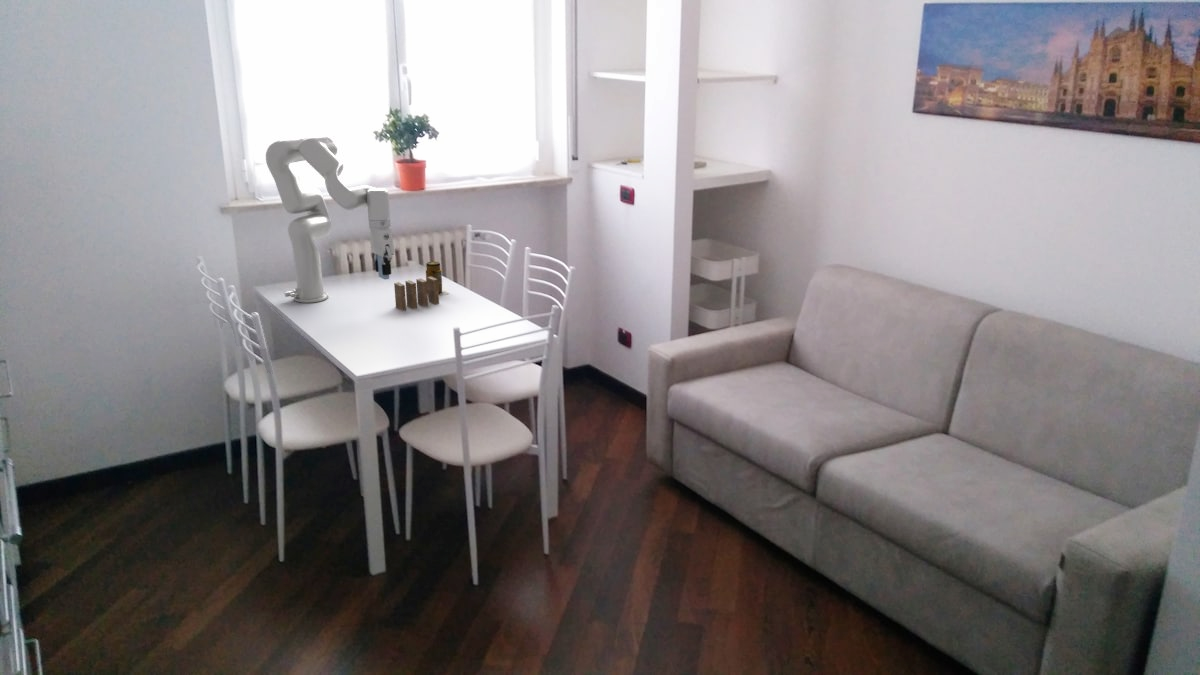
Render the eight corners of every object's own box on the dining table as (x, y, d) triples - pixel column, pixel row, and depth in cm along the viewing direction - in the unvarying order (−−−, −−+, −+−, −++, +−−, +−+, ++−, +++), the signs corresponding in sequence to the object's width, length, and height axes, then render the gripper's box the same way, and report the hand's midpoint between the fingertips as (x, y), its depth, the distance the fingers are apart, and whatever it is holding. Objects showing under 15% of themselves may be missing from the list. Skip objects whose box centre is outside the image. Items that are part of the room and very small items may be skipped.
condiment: (438, 289, 365) (436, 259, 361) (449, 293, 359) (447, 264, 355) (421, 292, 361) (420, 262, 357) (432, 297, 355) (430, 267, 351)
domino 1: (384, 279, 330) (382, 253, 327) (378, 276, 334) (376, 251, 331) (389, 278, 331) (387, 253, 328) (383, 275, 335) (381, 250, 332)
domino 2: (401, 310, 338) (400, 286, 335) (395, 307, 342) (394, 282, 339) (406, 309, 339) (404, 285, 336) (400, 306, 343) (398, 282, 340)
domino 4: (423, 306, 343) (422, 282, 340) (417, 303, 347) (416, 279, 344) (428, 305, 344) (426, 281, 341) (422, 302, 348) (420, 278, 345)
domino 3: (413, 308, 341) (411, 284, 337) (406, 305, 344) (405, 281, 341) (417, 307, 342) (415, 283, 338) (411, 304, 345) (409, 280, 342)
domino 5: (434, 304, 346) (433, 280, 343) (428, 301, 349) (427, 277, 346) (439, 303, 347) (437, 279, 344) (432, 300, 350) (431, 276, 347)
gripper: (400, 226, 322) (403, 276, 328) (379, 218, 335) (383, 266, 341) (380, 229, 317) (384, 279, 323) (359, 220, 330) (363, 269, 336)
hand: (383, 272), depth 332 cm, fingers closed on domino 1, 4 cm apart
